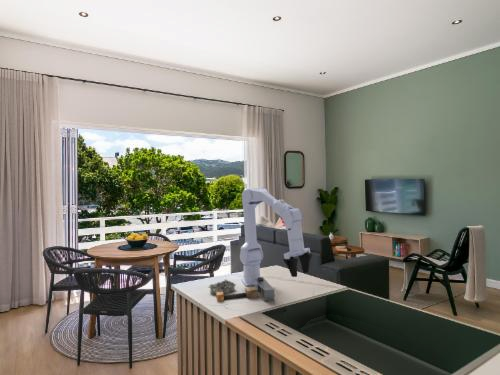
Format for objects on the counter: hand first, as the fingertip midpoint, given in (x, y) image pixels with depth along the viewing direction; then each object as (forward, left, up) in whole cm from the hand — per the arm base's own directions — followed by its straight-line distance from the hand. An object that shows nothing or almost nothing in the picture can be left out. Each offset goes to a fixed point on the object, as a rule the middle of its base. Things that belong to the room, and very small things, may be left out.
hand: (300, 274), depth 133 cm
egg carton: (-21, -28, -11) cm, 37 cm away
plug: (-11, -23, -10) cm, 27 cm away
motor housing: (-12, -12, -10) cm, 19 cm away
